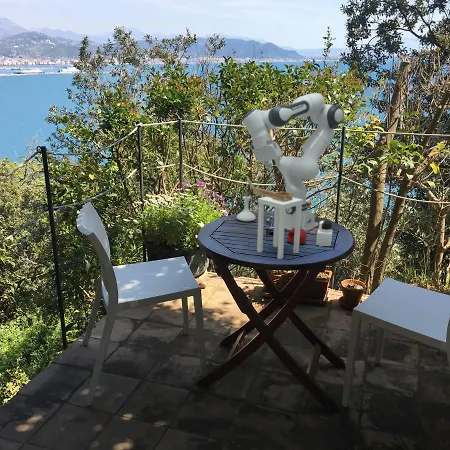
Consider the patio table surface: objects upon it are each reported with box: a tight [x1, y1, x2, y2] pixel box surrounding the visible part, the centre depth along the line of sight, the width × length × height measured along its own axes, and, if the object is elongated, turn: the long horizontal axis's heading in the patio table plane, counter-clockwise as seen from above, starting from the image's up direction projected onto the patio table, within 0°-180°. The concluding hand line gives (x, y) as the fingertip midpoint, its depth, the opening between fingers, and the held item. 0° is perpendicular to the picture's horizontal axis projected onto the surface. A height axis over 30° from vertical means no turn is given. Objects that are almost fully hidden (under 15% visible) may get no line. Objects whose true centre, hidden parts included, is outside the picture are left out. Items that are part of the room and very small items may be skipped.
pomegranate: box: [286, 227, 308, 245], centre depth 228 cm, size 10×10×9 cm
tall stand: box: [256, 196, 303, 260], centre depth 211 cm, size 14×15×26 cm
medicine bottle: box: [315, 220, 333, 247], centre depth 225 cm, size 7×7×12 cm
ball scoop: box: [252, 187, 293, 202], centre depth 211 cm, size 6×20×3 cm, turn 43°
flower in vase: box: [236, 177, 257, 222], centre depth 263 cm, size 13×11×25 cm
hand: (274, 167), depth 226 cm, fingers open, 8 cm apart
